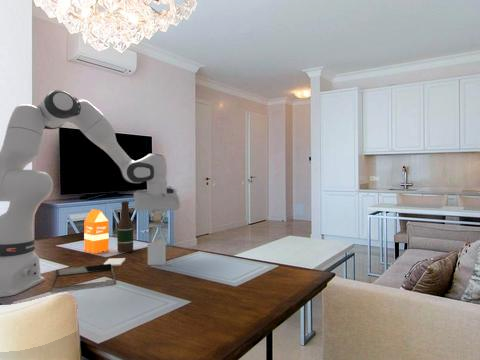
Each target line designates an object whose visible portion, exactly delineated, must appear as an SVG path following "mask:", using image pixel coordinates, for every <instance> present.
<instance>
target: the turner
mask: <svg viewBox="0 0 480 360" xmlns="http://www.w3.org/2000/svg"><path fill="white" fill-rule="evenodd" d="M162 214H163V213H162V211H154V212H153V216H154V220H153V222H150V223H149V225H148V228H163V227H164V225H165V222H163V220H161V216H163V215H162Z"/></svg>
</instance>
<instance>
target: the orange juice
mask: <svg viewBox="0 0 480 360" xmlns="http://www.w3.org/2000/svg"><path fill="white" fill-rule="evenodd" d="M83 222H84V224H83V226H84V227H83V228H84V229H83V232H84V233H83V235H84V237H83V239H84V240H83V243H84V252H87V253H90V252H91V254H94V253H95V254H99V253H103V252H102V251H104V252H108V251H107V250H109V243H110V242H109V237H110V236H109V235H110V234H109V219H108V218H107V217H106V216H105V214H104V213H103V211H102V210H99V209H92V208H91V210H90V212H89V213H88V214H87V216H86V218H85V219H84V221H83ZM98 252H99V253H98Z"/></svg>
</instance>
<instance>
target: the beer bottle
mask: <svg viewBox="0 0 480 360" xmlns="http://www.w3.org/2000/svg"><path fill="white" fill-rule="evenodd" d="M120 204H121V214H120V219H119V221H118V223H117V227H116V228H117V230H116V232H117V235H116V236H117V241H116V243H117V244H116V245H117V252H118V251H119V252H118V253H122V252H124V253H130V252H129V251H131V252H133V251H134V224H133V220H132V219H131V216H130V208H129V204H130V202H129V201H127V200H126V201H124V200H123V201H121V202H120Z"/></svg>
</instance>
